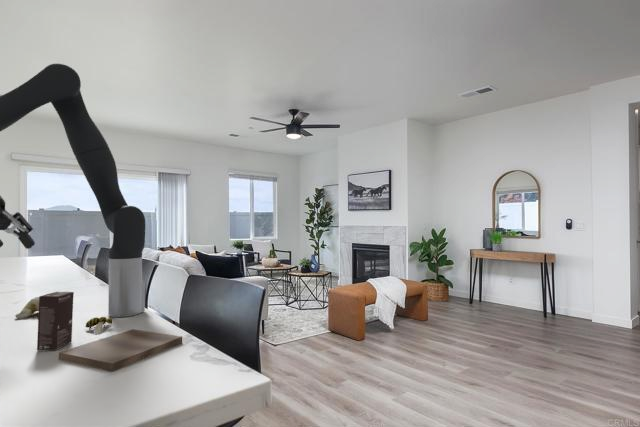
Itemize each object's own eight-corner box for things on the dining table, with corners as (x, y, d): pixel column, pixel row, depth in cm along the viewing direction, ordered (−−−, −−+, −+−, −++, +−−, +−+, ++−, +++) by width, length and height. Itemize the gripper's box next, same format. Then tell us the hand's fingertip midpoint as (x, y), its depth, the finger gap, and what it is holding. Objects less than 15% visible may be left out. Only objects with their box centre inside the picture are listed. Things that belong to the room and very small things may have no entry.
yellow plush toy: (9, 297, 114) (65, 287, 126) (9, 316, 115) (66, 304, 127) (18, 306, 108) (77, 295, 120) (18, 326, 109) (77, 313, 121)
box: (57, 350, 83) (57, 296, 83) (36, 351, 83) (36, 296, 83) (74, 342, 89) (74, 291, 89) (54, 342, 89) (55, 291, 89)
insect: (90, 318, 104) (98, 302, 104) (112, 325, 106) (120, 309, 106) (77, 336, 94) (86, 318, 94) (101, 343, 96) (110, 326, 96)
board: (132, 335, 94) (132, 329, 94) (182, 343, 88) (182, 336, 88) (58, 359, 78) (58, 352, 78) (112, 371, 71) (112, 363, 71)
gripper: (-43, 180, 83) (-1, 236, 82) (14, 188, 97) (51, 236, 96) (-68, 203, 83) (-26, 259, 82) (-7, 208, 98) (29, 255, 96)
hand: (15, 246), depth 89 cm, fingers open, 8 cm apart
